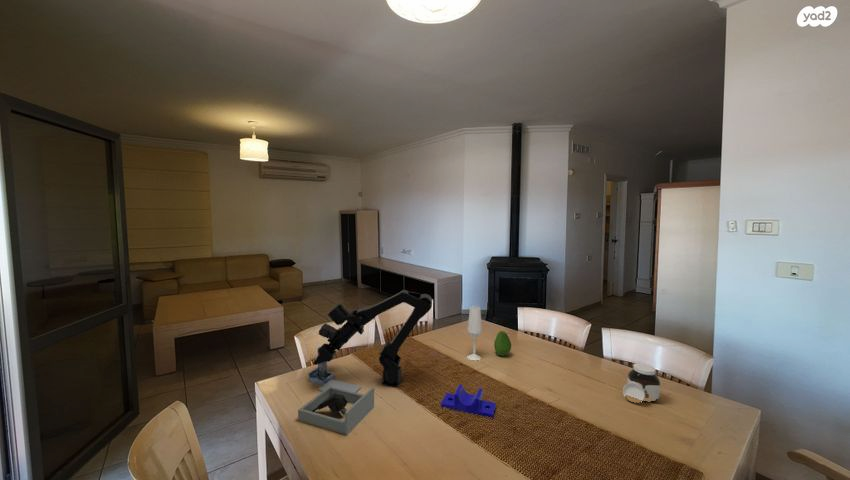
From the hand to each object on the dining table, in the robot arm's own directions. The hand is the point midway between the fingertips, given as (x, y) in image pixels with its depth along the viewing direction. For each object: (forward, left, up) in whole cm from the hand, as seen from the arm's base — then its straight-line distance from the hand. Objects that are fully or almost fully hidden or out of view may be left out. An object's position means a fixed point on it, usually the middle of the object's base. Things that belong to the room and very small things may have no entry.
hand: (318, 358), depth 132 cm
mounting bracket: (-61, -5, -9) cm, 61 cm away
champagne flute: (-53, -44, -9) cm, 70 cm away
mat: (-12, +3, -9) cm, 15 cm away
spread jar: (-118, -34, -9) cm, 123 cm away
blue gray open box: (-1, 0, -9) cm, 9 cm away
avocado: (-65, -52, -9) cm, 84 cm away
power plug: (-18, +17, -9) cm, 27 cm away
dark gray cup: (-1, 0, -8) cm, 8 cm away
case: (-20, +16, -9) cm, 27 cm away
